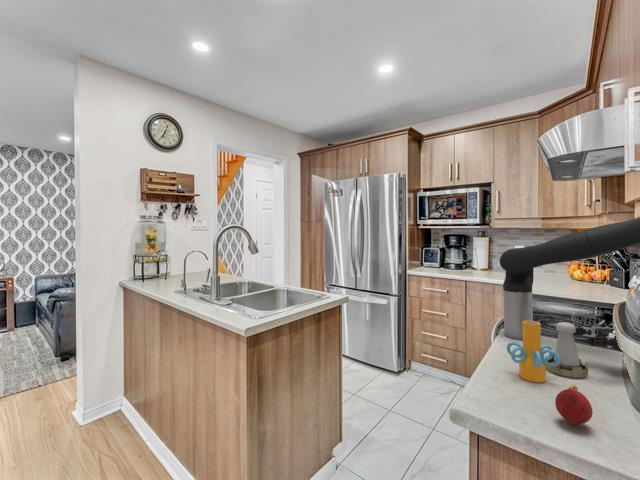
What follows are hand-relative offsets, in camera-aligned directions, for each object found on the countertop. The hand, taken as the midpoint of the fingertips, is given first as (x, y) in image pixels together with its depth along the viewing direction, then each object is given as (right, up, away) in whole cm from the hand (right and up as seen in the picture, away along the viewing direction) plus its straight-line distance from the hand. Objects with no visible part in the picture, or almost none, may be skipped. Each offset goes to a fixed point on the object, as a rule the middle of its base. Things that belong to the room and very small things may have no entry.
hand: (577, 336), depth 85 cm
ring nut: (-3, -10, +1) cm, 10 cm away
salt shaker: (-3, -10, +1) cm, 10 cm away
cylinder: (-15, -11, -3) cm, 18 cm away
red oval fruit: (-20, -11, -23) cm, 33 cm away
